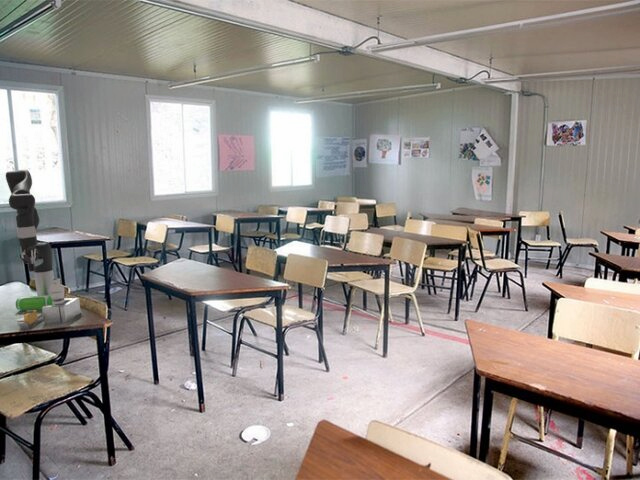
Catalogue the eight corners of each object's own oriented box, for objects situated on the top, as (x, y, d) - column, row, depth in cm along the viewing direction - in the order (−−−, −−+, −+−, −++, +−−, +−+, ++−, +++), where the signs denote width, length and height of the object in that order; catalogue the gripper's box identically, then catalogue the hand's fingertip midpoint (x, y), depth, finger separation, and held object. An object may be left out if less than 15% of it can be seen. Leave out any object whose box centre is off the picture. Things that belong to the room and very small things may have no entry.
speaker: (57, 306, 258) (55, 293, 257) (50, 311, 251) (48, 297, 250) (23, 308, 257) (21, 295, 256) (16, 312, 250) (13, 299, 249)
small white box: (46, 314, 245) (44, 299, 244) (80, 312, 245) (78, 297, 244) (20, 329, 223) (17, 313, 221) (57, 328, 223) (55, 311, 222)
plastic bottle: (50, 318, 238) (45, 279, 234) (65, 315, 242) (60, 276, 239) (55, 321, 233) (50, 281, 230) (70, 317, 238) (65, 278, 235)
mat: (28, 315, 244) (28, 314, 244) (43, 314, 245) (43, 313, 244) (17, 321, 235) (16, 320, 235) (32, 321, 235) (32, 319, 235)
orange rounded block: (33, 321, 233) (31, 308, 231) (39, 321, 233) (37, 307, 231) (23, 327, 225) (21, 313, 224) (29, 327, 225) (27, 313, 224)
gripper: (27, 234, 234) (32, 268, 237) (10, 238, 221) (16, 274, 224) (42, 233, 234) (47, 267, 237) (27, 237, 221) (32, 274, 224)
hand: (32, 271), depth 231 cm, fingers closed
